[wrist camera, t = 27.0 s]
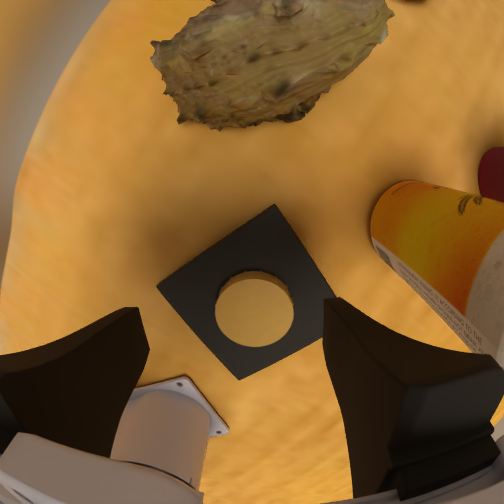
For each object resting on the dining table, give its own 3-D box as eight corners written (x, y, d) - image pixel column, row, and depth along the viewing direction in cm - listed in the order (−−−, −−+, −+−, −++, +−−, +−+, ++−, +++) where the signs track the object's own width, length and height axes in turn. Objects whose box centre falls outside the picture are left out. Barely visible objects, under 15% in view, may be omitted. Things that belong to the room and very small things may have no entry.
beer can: (452, 222, 19) (609, 309, 4) (400, 280, 20) (524, 425, 6) (407, 161, 18) (601, 195, 3) (348, 224, 19) (495, 365, 5)
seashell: (378, 26, 16) (441, -47, 6) (286, 184, 18) (322, 179, 9) (246, -35, 15) (243, -124, 5) (138, 108, 17) (51, 55, 8)
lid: (292, 269, 20) (294, 277, 18) (292, 335, 21) (293, 346, 20) (214, 271, 20) (210, 279, 19) (221, 336, 22) (218, 347, 20)
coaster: (239, 376, 23) (238, 381, 23) (158, 283, 21) (155, 286, 21) (348, 317, 21) (350, 321, 21) (274, 203, 19) (275, 204, 19)
